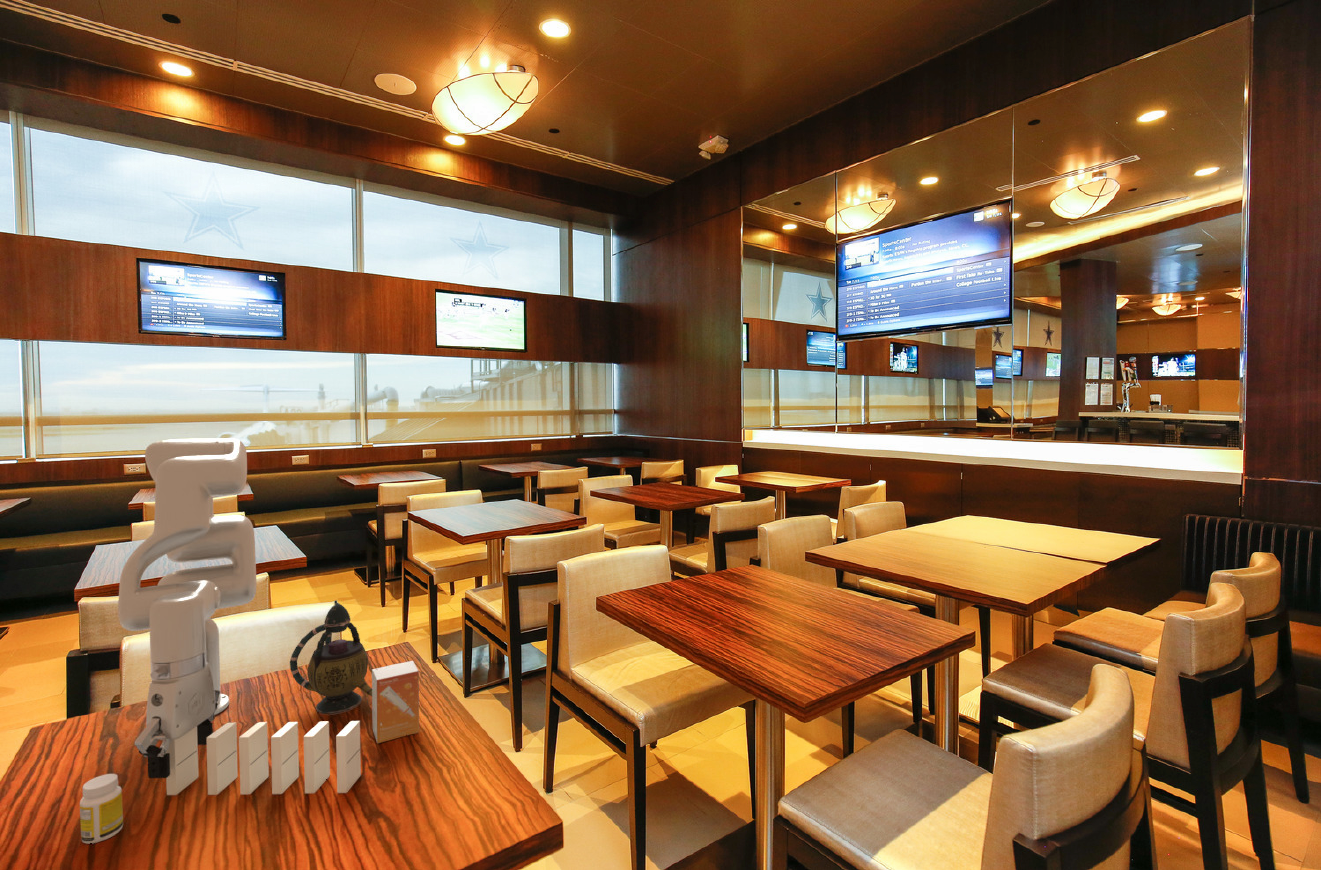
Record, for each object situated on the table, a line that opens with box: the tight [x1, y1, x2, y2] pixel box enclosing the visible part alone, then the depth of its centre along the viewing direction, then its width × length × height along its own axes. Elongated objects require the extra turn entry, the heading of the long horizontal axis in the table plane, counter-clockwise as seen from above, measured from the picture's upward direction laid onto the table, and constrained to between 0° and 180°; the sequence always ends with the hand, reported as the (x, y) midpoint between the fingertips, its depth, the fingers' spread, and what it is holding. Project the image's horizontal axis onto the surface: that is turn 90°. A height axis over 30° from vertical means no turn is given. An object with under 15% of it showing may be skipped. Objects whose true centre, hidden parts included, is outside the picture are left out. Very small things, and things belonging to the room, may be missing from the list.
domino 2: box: [206, 721, 239, 796], centre depth 104 cm, size 2×5×10 cm, turn 1°
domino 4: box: [270, 721, 300, 795], centre depth 104 cm, size 2×5×10 cm, turn 1°
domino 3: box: [238, 721, 270, 795], centre depth 104 cm, size 2×5×10 cm, turn 1°
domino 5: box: [303, 720, 331, 794], centre depth 104 cm, size 2×5×10 cm, turn 1°
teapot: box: [289, 600, 372, 716], centre depth 132 cm, size 12×25×23 cm, turn 70°
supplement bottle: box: [79, 773, 124, 845], centre depth 92 cm, size 5×5×8 cm
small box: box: [371, 660, 420, 744], centre depth 122 cm, size 8×6×13 cm
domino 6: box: [335, 720, 362, 794], centre depth 104 cm, size 2×5×10 cm, turn 1°
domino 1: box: [165, 726, 199, 796], centre depth 104 cm, size 2×5×10 cm, turn 1°
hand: (182, 759), depth 104 cm, fingers open, 9 cm apart
